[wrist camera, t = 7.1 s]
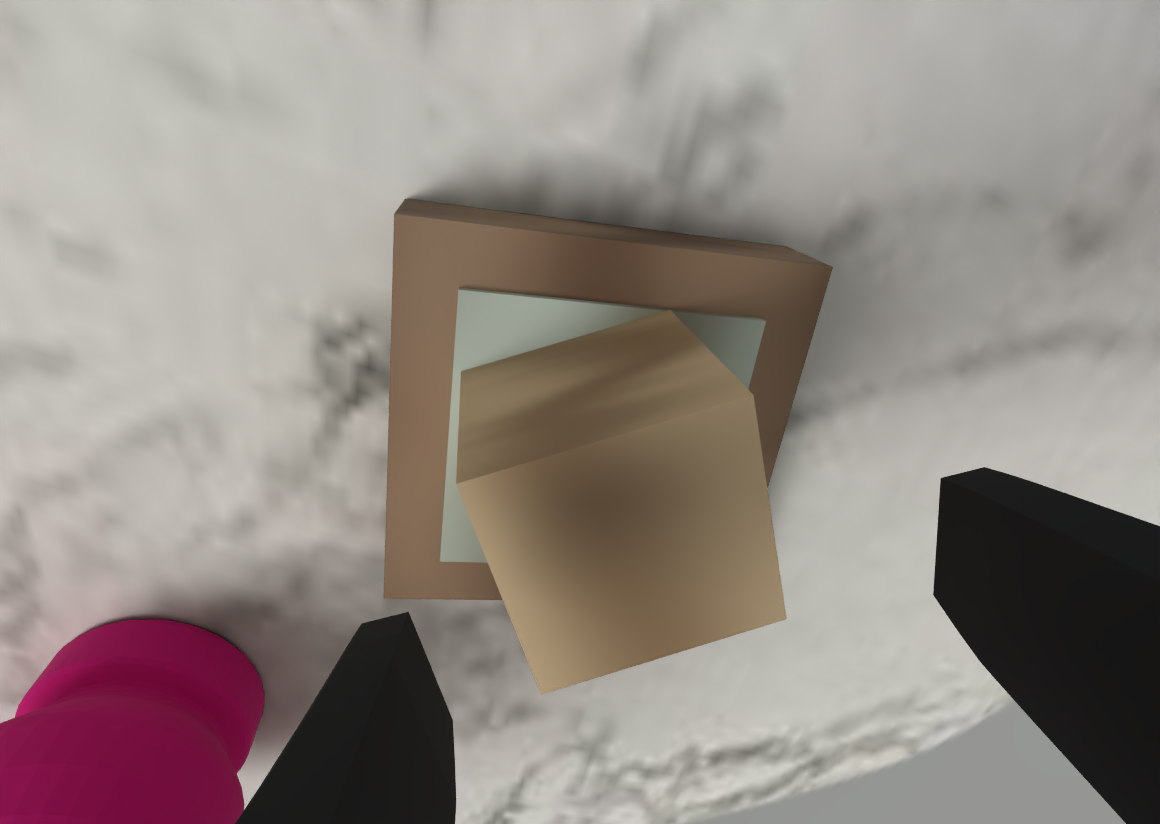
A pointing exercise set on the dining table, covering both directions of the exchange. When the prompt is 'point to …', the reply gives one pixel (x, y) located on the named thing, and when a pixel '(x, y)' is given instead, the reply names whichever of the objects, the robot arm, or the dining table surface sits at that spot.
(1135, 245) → the dining table surface
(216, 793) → the pepper mill
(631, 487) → the oak cube
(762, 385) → the walnut picture frame
